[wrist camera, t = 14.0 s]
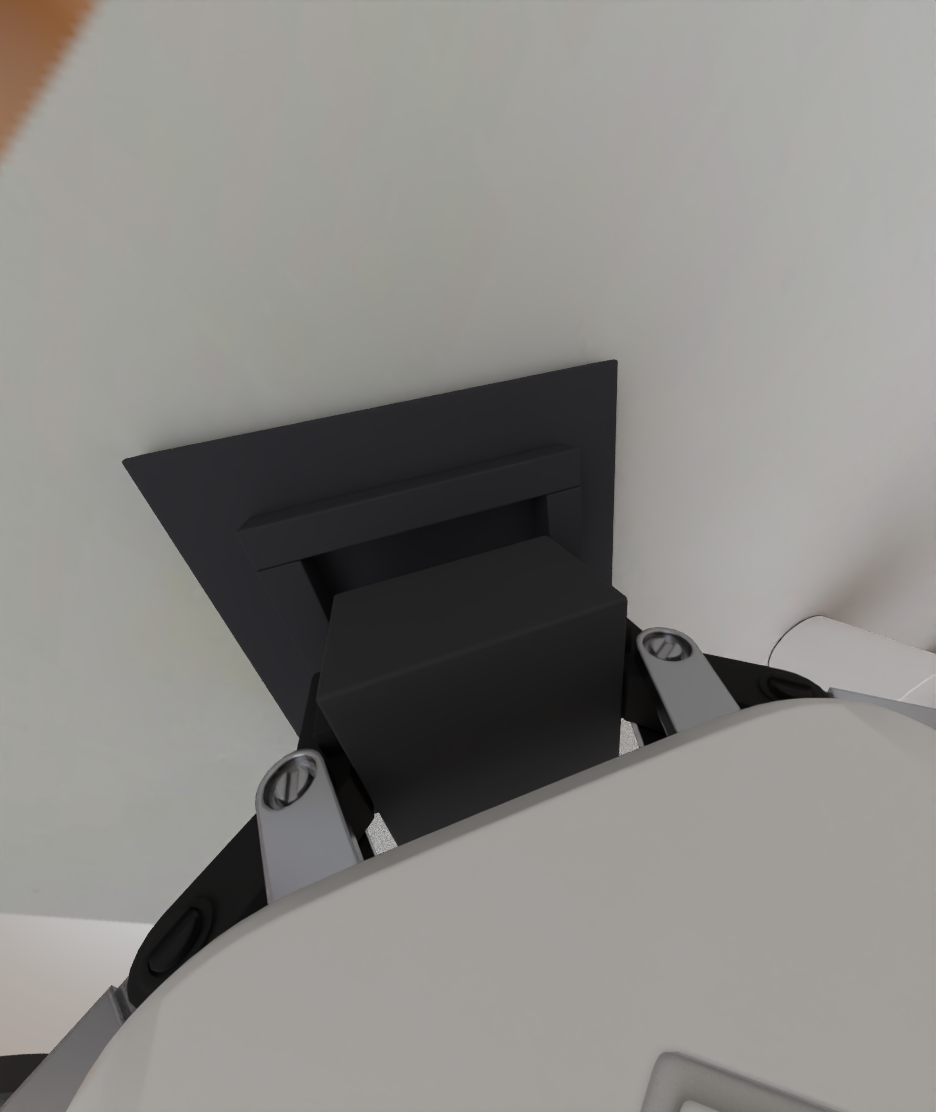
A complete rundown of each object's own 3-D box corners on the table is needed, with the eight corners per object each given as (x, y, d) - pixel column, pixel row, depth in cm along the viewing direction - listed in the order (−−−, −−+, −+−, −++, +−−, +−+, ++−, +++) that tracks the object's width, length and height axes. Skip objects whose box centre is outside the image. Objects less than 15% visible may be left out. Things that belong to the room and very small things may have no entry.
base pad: (328, 759, 16) (322, 811, 14) (142, 454, 9) (81, 469, 7) (597, 663, 18) (625, 696, 16) (599, 361, 11) (647, 353, 9)
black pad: (396, 738, 11) (405, 864, 8) (333, 593, 9) (313, 701, 6) (557, 681, 12) (619, 774, 9) (546, 533, 10) (629, 596, 6)
